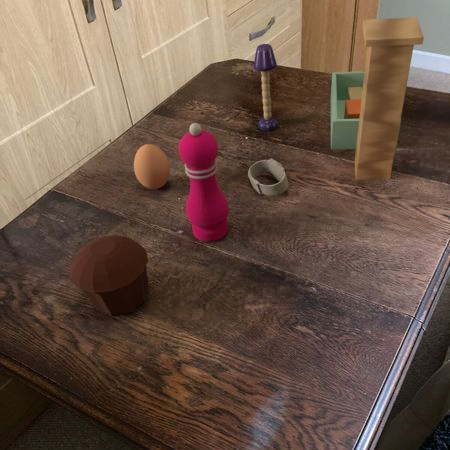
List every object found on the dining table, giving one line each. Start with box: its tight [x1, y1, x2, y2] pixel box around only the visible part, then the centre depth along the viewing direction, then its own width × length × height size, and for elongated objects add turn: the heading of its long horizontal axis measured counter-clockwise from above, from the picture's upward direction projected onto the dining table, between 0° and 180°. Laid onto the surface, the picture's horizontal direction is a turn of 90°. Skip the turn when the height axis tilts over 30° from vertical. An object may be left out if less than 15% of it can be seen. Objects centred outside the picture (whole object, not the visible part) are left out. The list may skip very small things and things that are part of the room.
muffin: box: [69, 234, 149, 317], centre depth 74 cm, size 12×11×10 cm
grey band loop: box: [247, 157, 290, 196], centre depth 91 cm, size 9×6×5 cm
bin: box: [330, 70, 402, 150], centre depth 103 cm, size 13×22×6 cm, turn 172°
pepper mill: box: [178, 122, 230, 243], centre depth 79 cm, size 7×7×20 cm
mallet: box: [344, 87, 363, 119], centre depth 105 cm, size 6×16×5 cm, turn 175°
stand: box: [354, 16, 425, 181], centre depth 83 cm, size 8×8×26 cm
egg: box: [133, 143, 171, 190], centre depth 94 cm, size 7×7×9 cm
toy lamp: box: [253, 43, 278, 132], centre depth 103 cm, size 5×5×17 cm
